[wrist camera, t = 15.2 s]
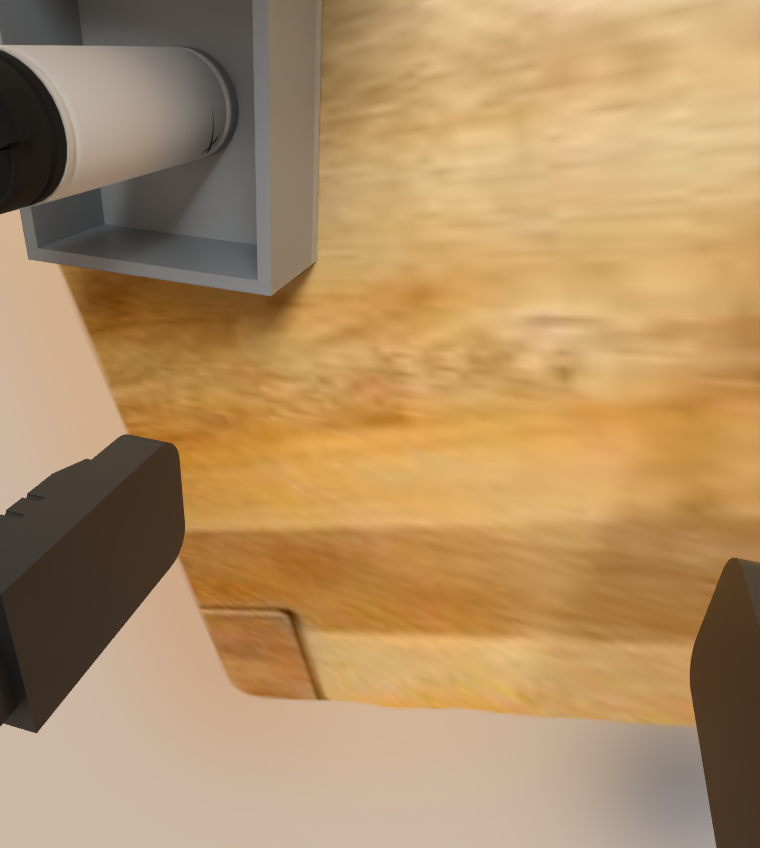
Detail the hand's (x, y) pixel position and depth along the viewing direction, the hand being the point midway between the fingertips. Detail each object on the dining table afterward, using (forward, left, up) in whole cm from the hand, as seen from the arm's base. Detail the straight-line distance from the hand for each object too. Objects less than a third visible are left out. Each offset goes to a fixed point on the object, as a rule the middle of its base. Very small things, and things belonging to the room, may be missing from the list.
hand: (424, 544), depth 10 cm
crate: (-2, -22, -36) cm, 42 cm away
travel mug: (-2, -22, -35) cm, 42 cm away
